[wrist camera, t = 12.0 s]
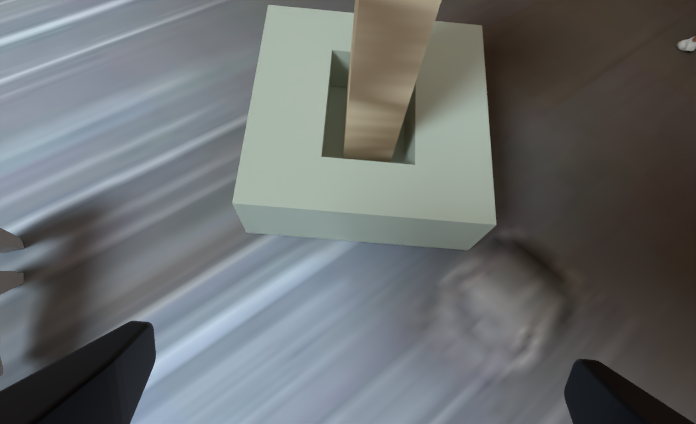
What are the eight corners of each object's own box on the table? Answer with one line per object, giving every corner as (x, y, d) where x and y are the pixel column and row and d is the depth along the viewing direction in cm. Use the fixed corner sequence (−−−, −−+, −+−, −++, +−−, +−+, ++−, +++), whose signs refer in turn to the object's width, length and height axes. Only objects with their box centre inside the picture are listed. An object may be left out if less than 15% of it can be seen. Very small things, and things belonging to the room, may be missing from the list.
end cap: (460, 73, 28) (481, 25, 24) (468, 250, 23) (496, 224, 19) (275, 56, 27) (268, 4, 24) (246, 232, 23) (232, 203, 19)
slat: (388, 104, 25) (450, -152, 13) (387, 171, 23) (457, -51, 11) (345, 101, 25) (369, -160, 13) (341, 168, 23) (364, -60, 11)
